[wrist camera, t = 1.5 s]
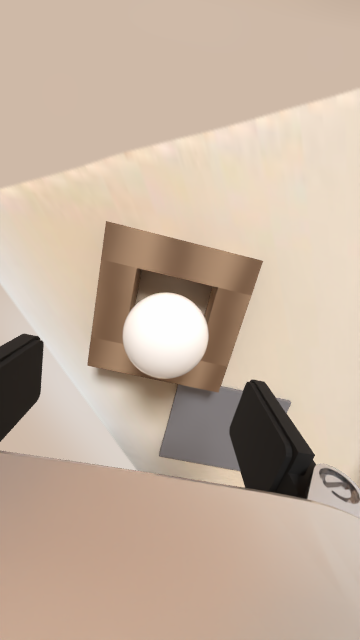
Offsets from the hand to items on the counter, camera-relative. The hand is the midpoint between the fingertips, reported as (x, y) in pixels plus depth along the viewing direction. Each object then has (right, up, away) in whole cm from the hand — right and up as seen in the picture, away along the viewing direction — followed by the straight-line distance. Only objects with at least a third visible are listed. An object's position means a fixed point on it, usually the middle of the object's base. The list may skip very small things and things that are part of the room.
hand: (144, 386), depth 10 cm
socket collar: (+1, +4, +14) cm, 15 cm away
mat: (+7, -11, +19) cm, 23 cm away
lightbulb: (+1, +4, +14) cm, 15 cm away
